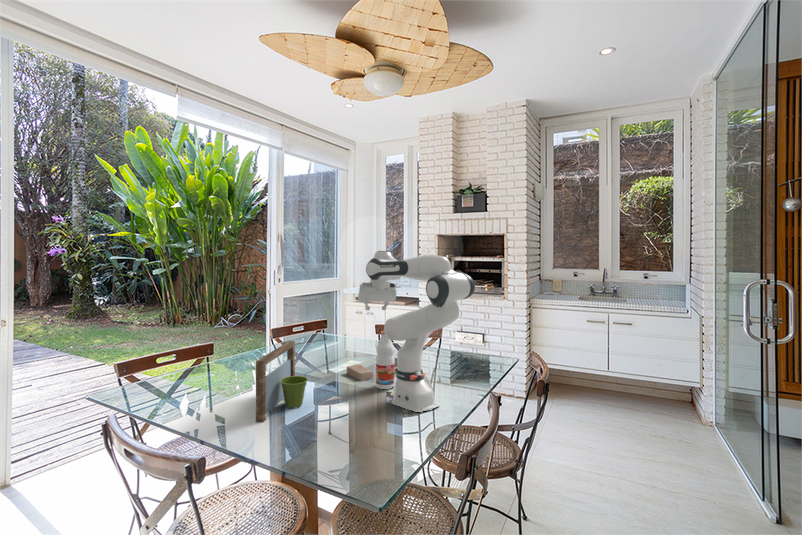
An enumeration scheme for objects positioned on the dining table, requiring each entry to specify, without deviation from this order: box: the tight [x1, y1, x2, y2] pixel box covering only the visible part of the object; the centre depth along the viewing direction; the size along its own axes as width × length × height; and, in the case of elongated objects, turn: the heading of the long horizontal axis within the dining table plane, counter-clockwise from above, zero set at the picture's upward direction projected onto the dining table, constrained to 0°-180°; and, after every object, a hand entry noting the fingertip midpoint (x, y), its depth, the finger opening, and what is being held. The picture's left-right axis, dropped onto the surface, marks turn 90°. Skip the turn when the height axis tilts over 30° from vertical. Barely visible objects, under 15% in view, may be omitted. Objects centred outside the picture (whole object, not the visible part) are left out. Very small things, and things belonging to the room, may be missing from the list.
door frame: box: [255, 340, 296, 423], centre depth 168 cm, size 3×36×24 cm, turn 176°
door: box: [266, 359, 291, 415], centre depth 169 cm, size 3×30×15 cm, turn 177°
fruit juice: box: [375, 330, 396, 390], centre depth 193 cm, size 9×9×28 cm
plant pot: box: [280, 375, 309, 409], centre depth 168 cm, size 12×12×11 cm
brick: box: [346, 363, 374, 382], centre depth 211 cm, size 17×8×5 cm, turn 36°
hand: (375, 310), depth 192 cm, fingers open, 8 cm apart
